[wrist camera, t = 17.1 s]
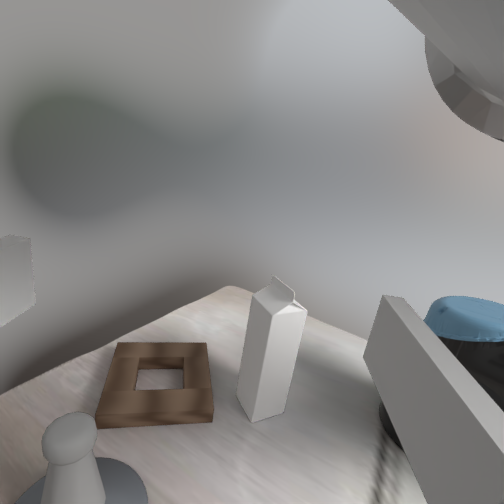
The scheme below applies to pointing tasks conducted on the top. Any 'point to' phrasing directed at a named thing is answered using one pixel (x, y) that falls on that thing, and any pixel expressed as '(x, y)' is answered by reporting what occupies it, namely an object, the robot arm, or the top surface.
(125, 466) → the coaster
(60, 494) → the salt shaker
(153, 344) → the socket block
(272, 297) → the milk
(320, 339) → the top surface
